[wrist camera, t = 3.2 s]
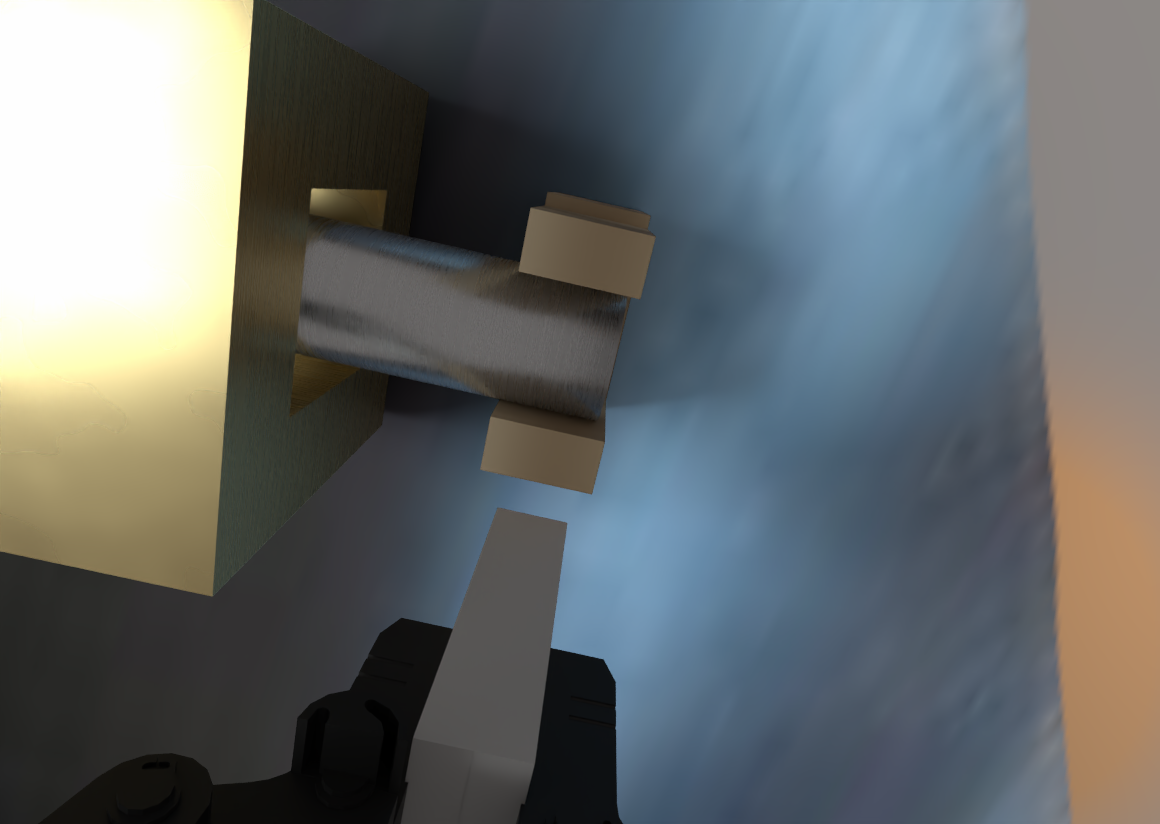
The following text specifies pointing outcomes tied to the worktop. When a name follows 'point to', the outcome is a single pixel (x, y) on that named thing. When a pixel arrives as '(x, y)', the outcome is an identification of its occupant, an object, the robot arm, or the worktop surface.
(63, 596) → the worktop surface
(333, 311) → the pipe
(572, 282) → the cradles
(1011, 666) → the worktop surface
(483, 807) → the robot arm
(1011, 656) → the worktop surface
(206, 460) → the collar
